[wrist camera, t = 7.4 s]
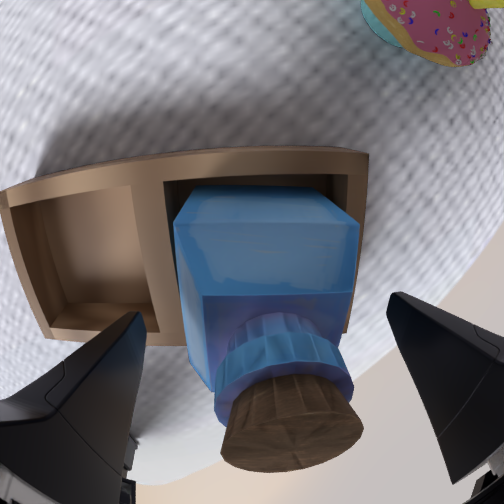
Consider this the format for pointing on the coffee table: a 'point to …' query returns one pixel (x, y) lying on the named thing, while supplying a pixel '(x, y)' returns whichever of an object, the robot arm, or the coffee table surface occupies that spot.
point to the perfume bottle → (270, 319)
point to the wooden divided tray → (144, 229)
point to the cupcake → (434, 27)
